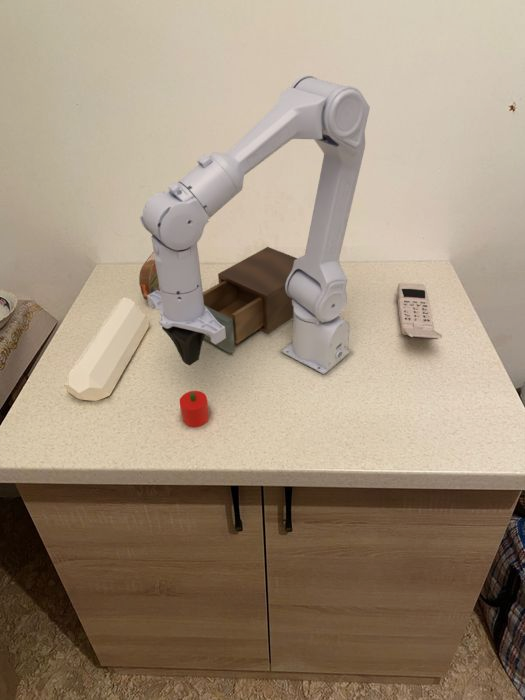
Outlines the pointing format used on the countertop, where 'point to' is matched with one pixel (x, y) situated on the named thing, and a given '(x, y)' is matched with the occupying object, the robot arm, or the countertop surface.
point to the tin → (149, 277)
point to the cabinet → (265, 283)
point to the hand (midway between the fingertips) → (191, 360)
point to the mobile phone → (415, 311)
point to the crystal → (108, 353)
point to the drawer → (234, 312)
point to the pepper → (194, 408)
